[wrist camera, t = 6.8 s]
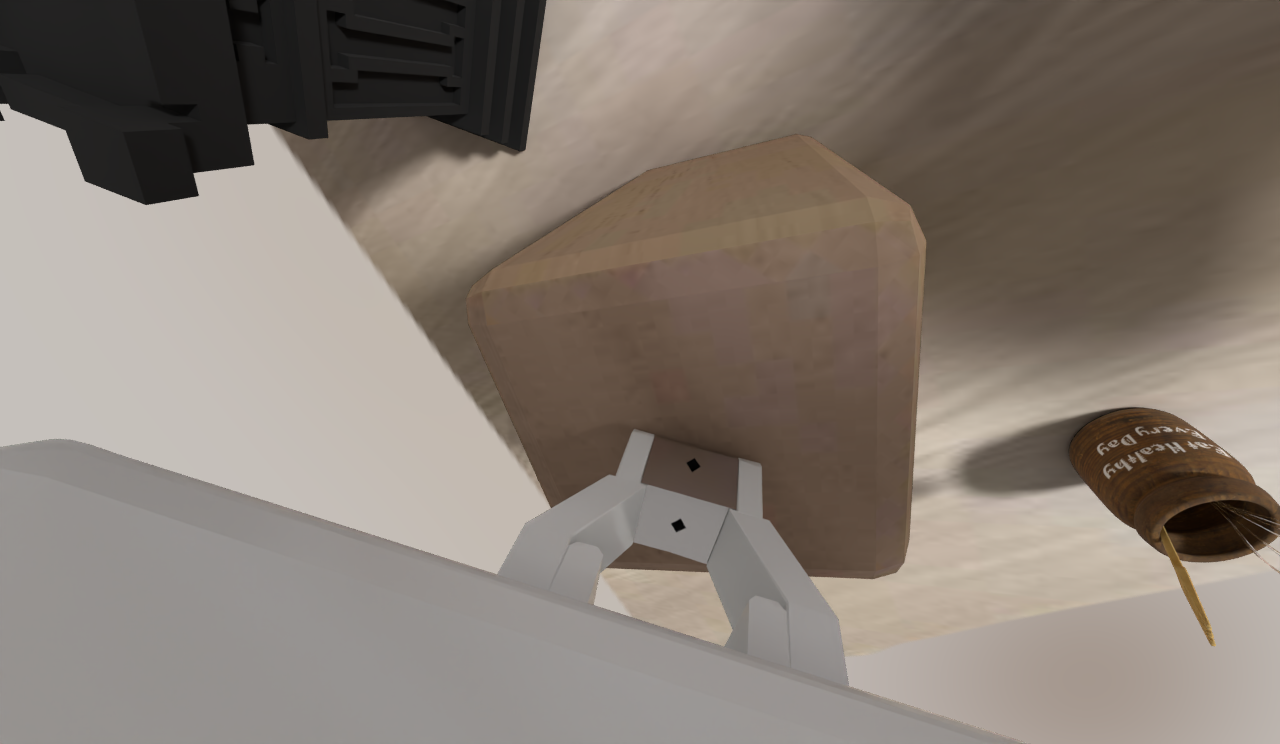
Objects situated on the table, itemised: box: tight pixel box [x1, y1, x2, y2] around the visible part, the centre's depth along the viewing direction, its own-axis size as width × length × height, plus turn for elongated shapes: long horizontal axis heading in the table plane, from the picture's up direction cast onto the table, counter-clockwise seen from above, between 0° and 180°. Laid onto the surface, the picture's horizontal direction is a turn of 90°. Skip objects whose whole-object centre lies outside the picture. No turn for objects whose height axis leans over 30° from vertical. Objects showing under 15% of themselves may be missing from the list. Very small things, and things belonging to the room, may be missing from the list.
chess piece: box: [0, 0, 546, 205], centre depth 17 cm, size 8×8×20 cm
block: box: [466, 134, 926, 579], centre depth 19 cm, size 10×10×20 cm
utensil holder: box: [1069, 408, 1280, 646], centre depth 24 cm, size 6×6×12 cm
